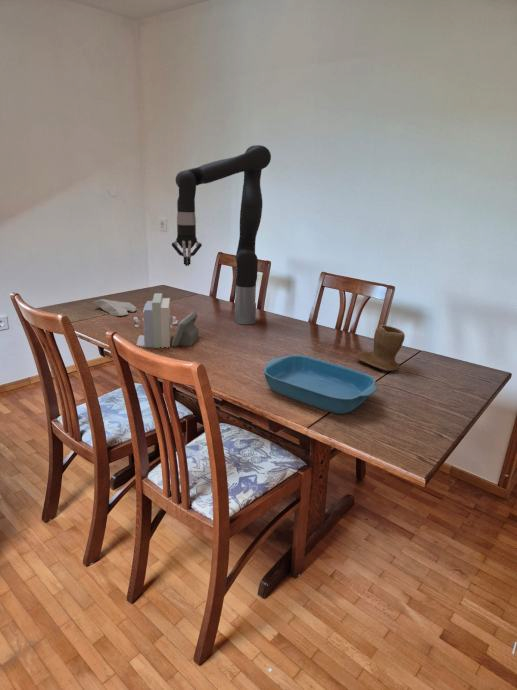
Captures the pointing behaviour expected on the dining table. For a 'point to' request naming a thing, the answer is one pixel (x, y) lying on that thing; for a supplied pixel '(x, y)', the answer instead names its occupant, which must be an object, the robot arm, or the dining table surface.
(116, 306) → the rock
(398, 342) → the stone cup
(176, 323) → the game piece set
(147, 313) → the book row
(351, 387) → the casserole dish
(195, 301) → the dining table surface
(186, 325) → the digital clock
